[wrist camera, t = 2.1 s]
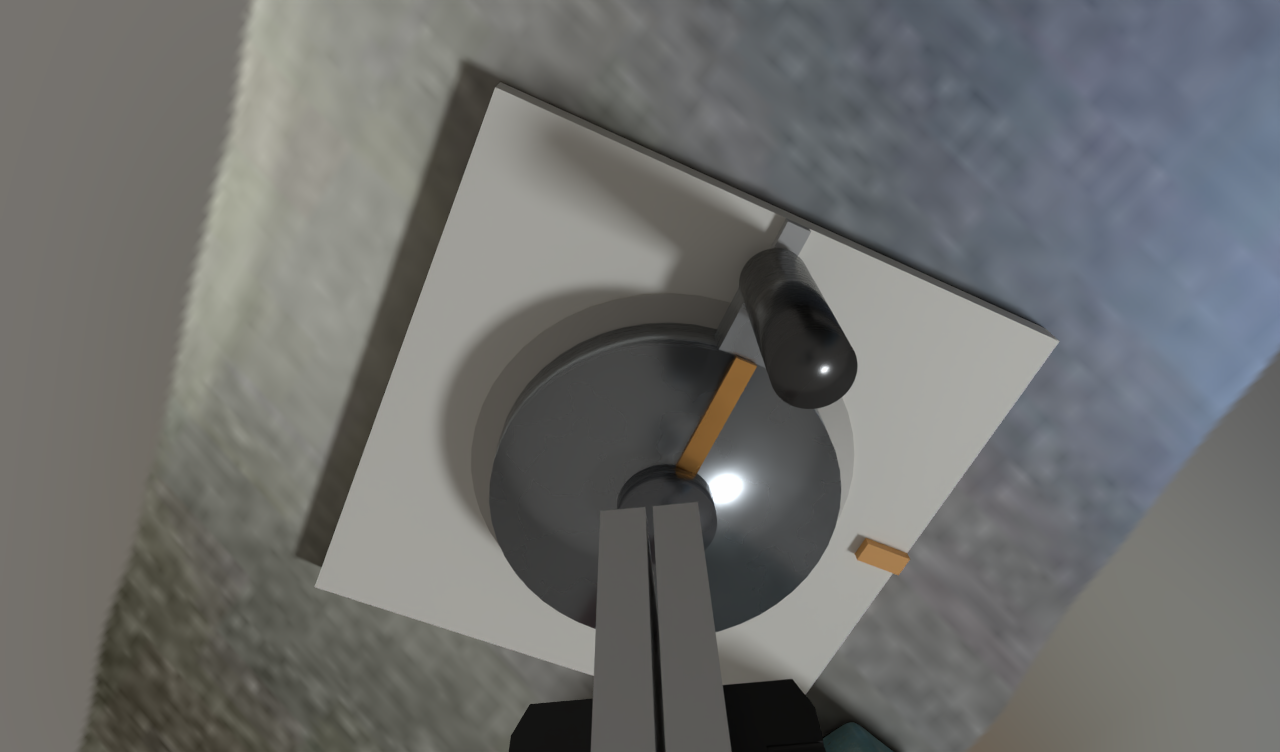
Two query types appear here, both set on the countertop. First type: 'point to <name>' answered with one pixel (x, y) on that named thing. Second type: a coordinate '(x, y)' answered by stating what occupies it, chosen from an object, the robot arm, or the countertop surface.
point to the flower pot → (853, 740)
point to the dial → (683, 445)
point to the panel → (633, 295)
